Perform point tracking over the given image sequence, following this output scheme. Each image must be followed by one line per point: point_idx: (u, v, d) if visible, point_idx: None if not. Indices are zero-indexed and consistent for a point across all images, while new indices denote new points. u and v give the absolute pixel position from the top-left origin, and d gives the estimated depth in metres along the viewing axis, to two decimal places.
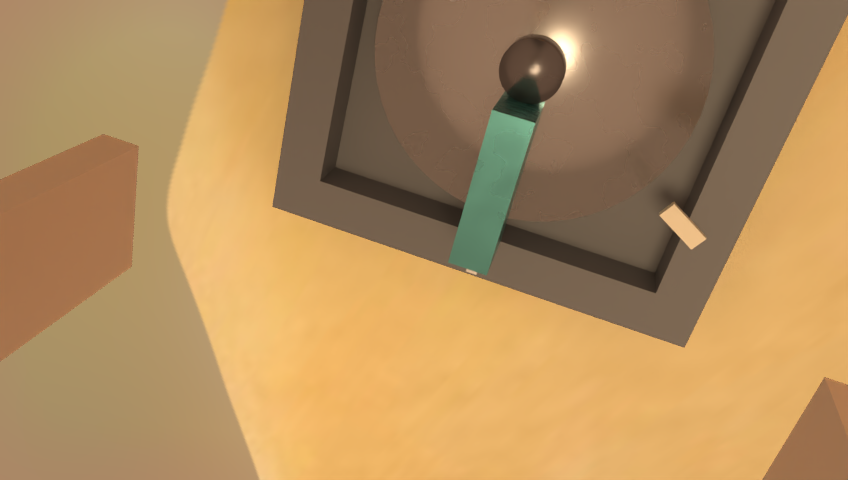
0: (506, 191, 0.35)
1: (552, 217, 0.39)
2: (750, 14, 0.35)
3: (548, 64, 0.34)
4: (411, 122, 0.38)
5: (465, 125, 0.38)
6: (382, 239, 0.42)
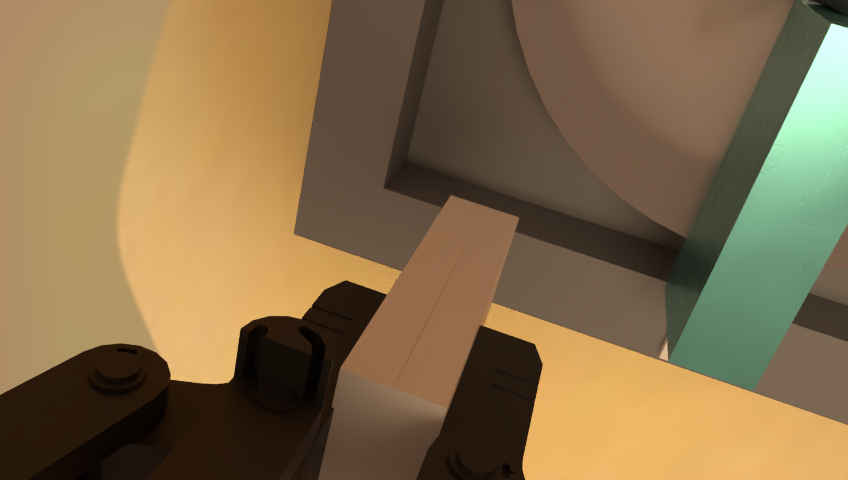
0: (834, 215, 0.15)
1: None
2: None
3: None
4: (576, 71, 0.19)
5: (694, 75, 0.18)
6: (497, 295, 0.23)
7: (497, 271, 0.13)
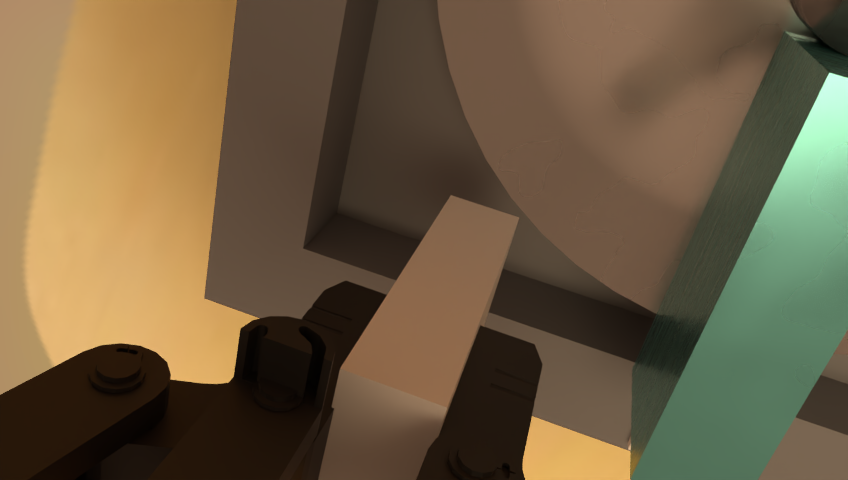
0: (834, 312, 0.12)
1: None
2: None
3: None
4: (520, 117, 0.16)
5: (662, 123, 0.15)
6: None
7: (497, 271, 0.13)
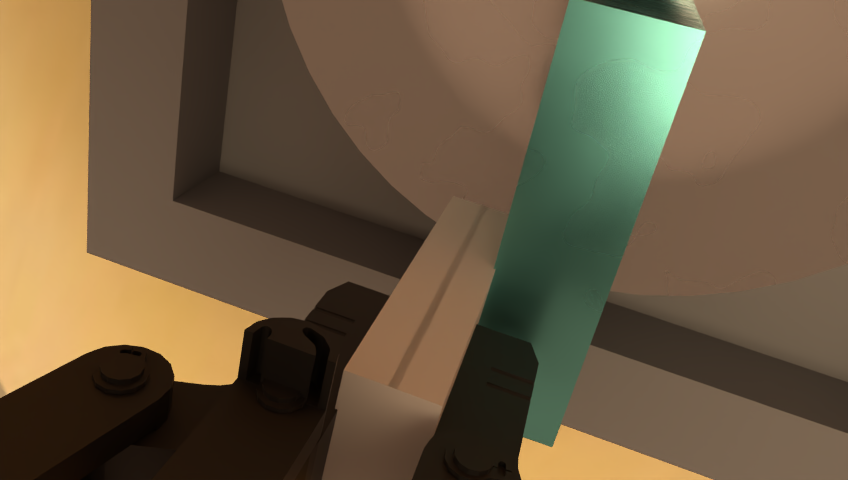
0: (610, 235, 0.12)
1: (699, 286, 0.16)
2: None
3: None
4: (359, 71, 0.16)
5: (489, 71, 0.16)
6: None
7: (493, 270, 0.13)
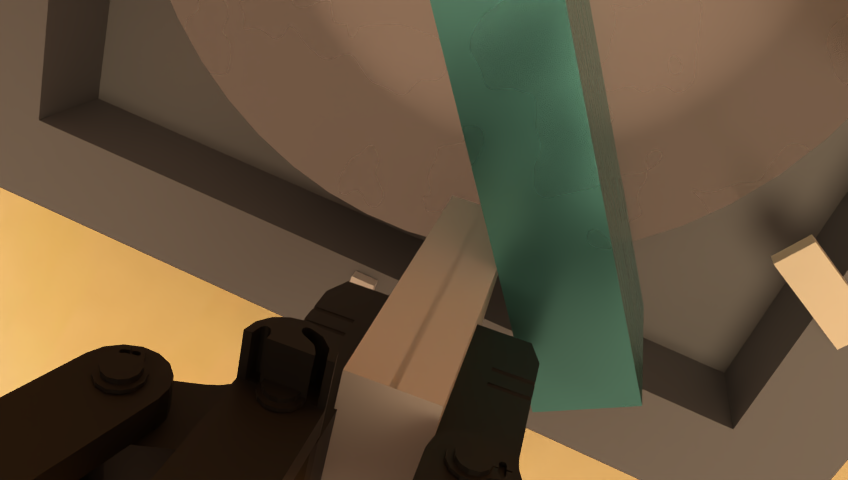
0: (577, 171, 0.12)
1: (735, 190, 0.15)
2: None
3: None
4: (331, 143, 0.17)
5: (436, 86, 0.16)
6: (167, 254, 0.20)
7: (494, 270, 0.13)
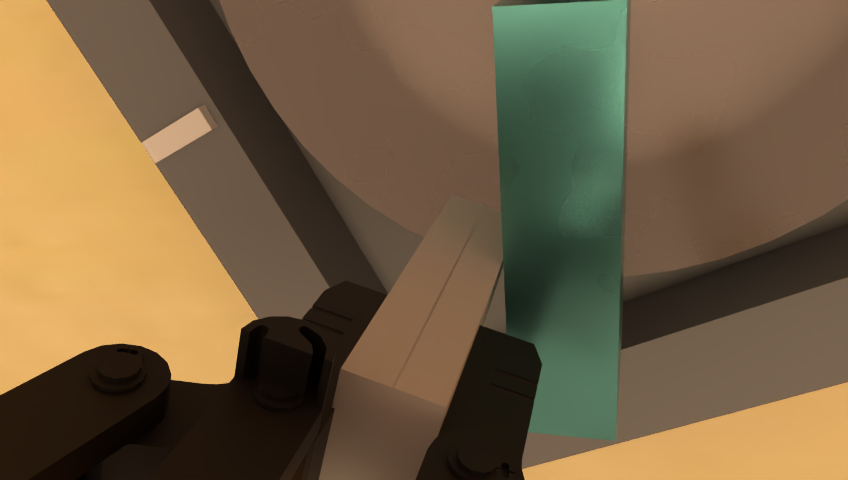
0: (602, 218, 0.12)
1: (729, 246, 0.16)
2: None
3: None
4: (347, 131, 0.17)
5: (464, 96, 0.16)
6: None
7: (497, 271, 0.13)
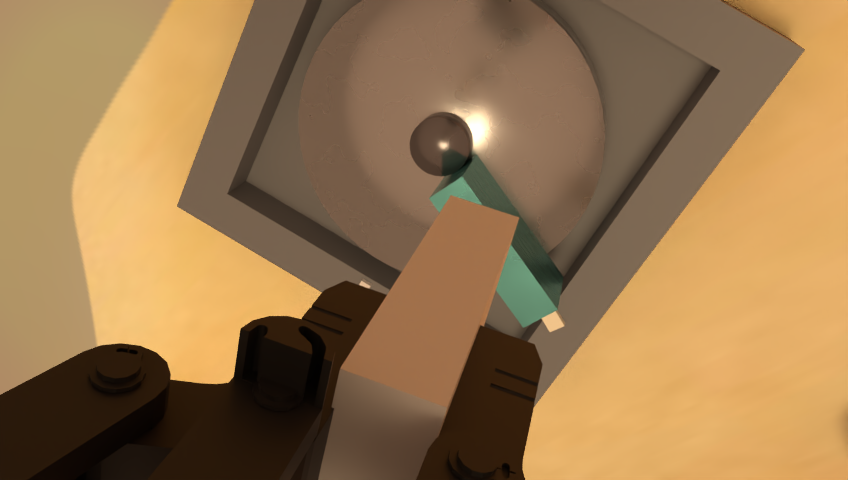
0: None
1: (573, 220, 0.38)
2: (641, 138, 0.39)
3: (442, 131, 0.37)
4: None
5: None
6: (275, 260, 0.44)
7: (497, 271, 0.13)
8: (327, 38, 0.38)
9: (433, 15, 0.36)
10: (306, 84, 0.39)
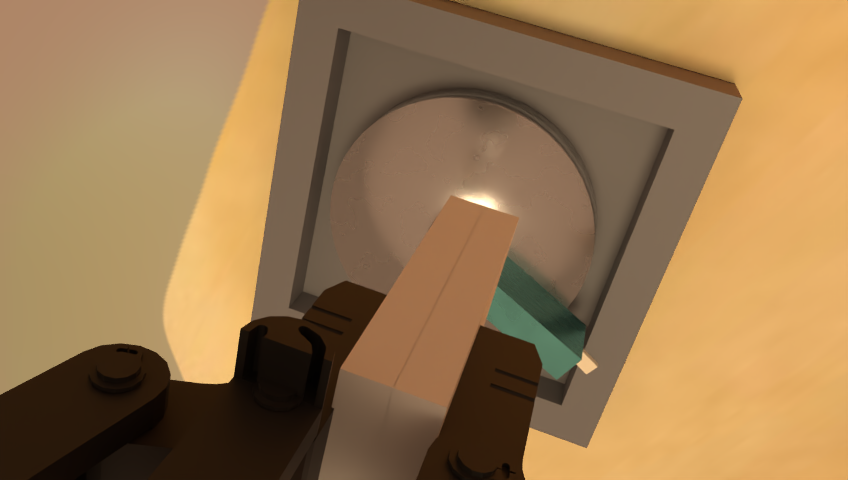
0: (517, 310, 0.41)
1: (582, 277, 0.44)
2: (627, 193, 0.44)
3: None
4: None
5: None
6: None
7: (497, 271, 0.13)
8: (341, 169, 0.45)
9: (422, 134, 0.43)
10: (332, 208, 0.46)
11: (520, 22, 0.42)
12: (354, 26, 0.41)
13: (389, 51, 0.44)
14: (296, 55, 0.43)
